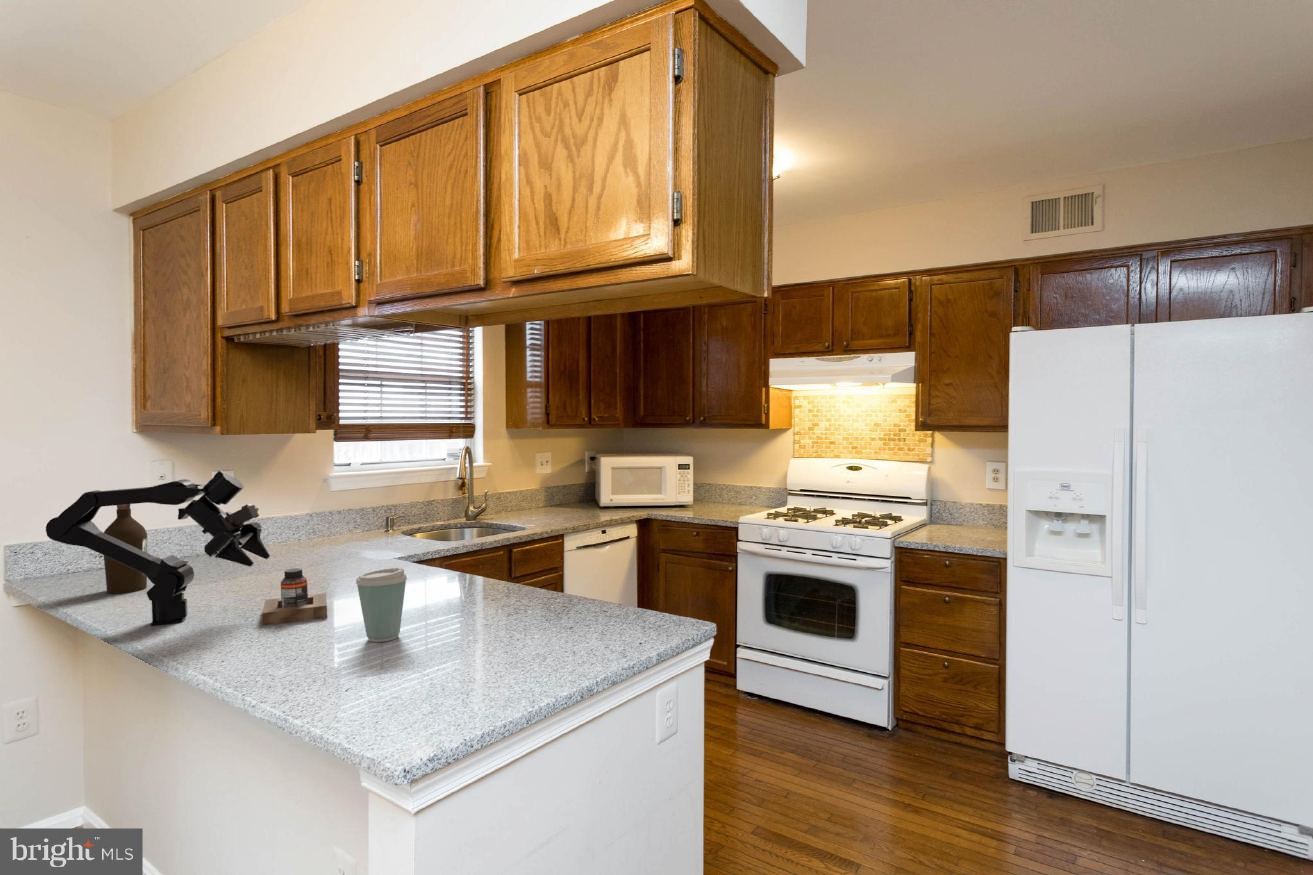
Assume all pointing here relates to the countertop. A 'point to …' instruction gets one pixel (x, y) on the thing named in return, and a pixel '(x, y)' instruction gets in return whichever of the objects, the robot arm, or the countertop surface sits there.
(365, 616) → the disposable coffee cup
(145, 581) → the olive oil
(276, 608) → the bottle holder
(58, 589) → the countertop surface
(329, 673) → the countertop surface
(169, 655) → the countertop surface
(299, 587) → the supplement bottle
